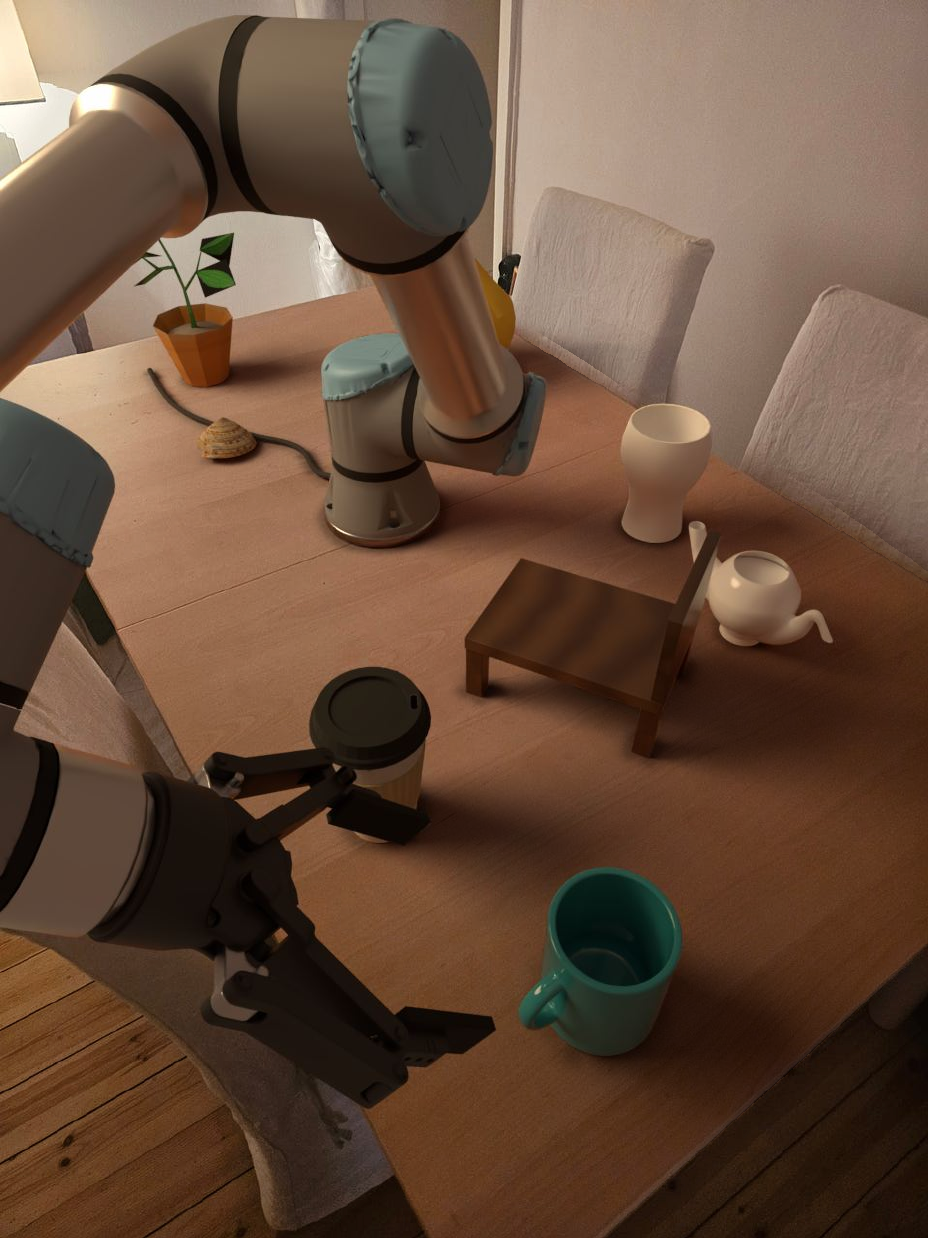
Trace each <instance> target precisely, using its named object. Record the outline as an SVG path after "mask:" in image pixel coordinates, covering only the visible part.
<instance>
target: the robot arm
mask: <svg viewBox="0 0 928 1238" xmlns="http://www.w3.org/2000/svg"><path fill="white" fill-rule="evenodd" d="M492 125H493V117H492V109H491V104H490V97H489V93H488V89H487V85H486V82H485V79H484V76H483V73H482V70H481V67H480V66H479V64H478V61H477V59H476V58H475V56H474V53H472V51H471V49H470V48H469V46H468V45H467V44H466V43H465V42H464V41H463V40H462V39H461V38H460V37H459V36H458V35H456V34H454V33H453V32H452V31H450V30H448V29H446V28H442V27H439V26H433V25H428V24H421V23H419V24H418V23H413V22H412V21H408V20H405V19H403V18H395V17H392V18H391V17H389V18H385V19H382V20H361V19H360V20H359V19H336V18H335V19H334V18H307V17H286V16H285V17H283V16H282V17H281V16H263V15H257V14H249V15H248V14H234V15H229V16H223V17H222V16H221V17H218V18H217V17H216V18H214V19H211V20H208V21H205V22H201V23H199V24H196V25H192V26H190V27H187V28H185V29H183V30H180V31H179V32H177V33H174V34H172V35H170V36H169V37H166V38H165V39H162V40H160V41H158V42H156V43H154V44H153V45H150V46H149V47H147V48H145V49H144V50H141V51H140V52H138V53H136V54H135V55H134V56H132V57H131V58H129V59H127V60H126V61H124V62H122V63H120V64H119V65H117V66H116V67H114V68H112V69H111V70H109V71H108V72H107V73H105V75H103V76H102V77H100V78H99V79H97V80H95V82H93V83H92V84H91V85H89V86H87V87H86V88H85V89H83V90H82V91H81V92H80V93H78V95H77V96H76V97H75V99H74V101H73V103H72V105H71V108H70V112H69V118H68V127H67V128H65V130H63V131H62V132H60V133H59V134H57V135H56V136H55V137H54V138H52V139H51V140H50V141H48V142H47V143H46V144H44V145H43V146H42V147H41V148H39V149H38V150H36V151H35V152H34V153H33V154H31V155H29V156H28V157H27V158H25V160H23V161H22V162H20V163H19V164H17V165H16V166H15V167H14V168H12V169H11V170H10V171H8V172H6V174H4V175H3V176H1V177H0V393H1V392H3V390H5V389H6V388H7V387H8V386H9V385H10V384H11V383H12V382H13V381H14V380H15V379H16V378H17V377H18V376H19V375H20V374H22V372H23V371H24V370H26V368H27V367H28V366H30V364H32V362H34V361H35V360H36V359H37V358H38V357H39V356H40V355H41V354H42V353H43V352H44V351H45V350H47V348H48V347H49V346H50V345H51V344H52V343H53V342H54V341H55V340H57V338H58V337H60V336H61V335H62V334H63V333H64V332H65V331H66V330H67V329H68V328H69V327H70V326H71V325H72V324H73V323H74V322H75V321H76V320H77V319H78V318H79V317H80V316H82V314H83V313H85V312H86V310H88V309H89V308H90V307H91V306H92V305H93V304H94V303H96V301H97V300H98V299H99V298H100V297H101V296H103V294H104V293H105V292H107V290H108V289H110V288H111V286H113V284H115V283H116V282H117V281H118V280H119V279H120V278H121V277H122V276H123V275H124V274H125V273H126V272H127V271H128V270H130V269H131V267H133V266H134V265H135V264H136V263H137V262H136V261H137V260H138V259H139V258H140V257H142V256H143V255H144V254H145V253H146V252H149V250H150V249H151V248H152V247H153V246H154V245H155V244H156V243H157V242H159V241H158V240H159V239H160V240H161V239H178V238H183V237H185V236H187V235H190V233H192V232H194V231H195V230H196V229H197V228H198V227H199V226H200V225H201V224H202V223H203V222H204V221H205V220H206V219H208V218H210V217H213V216H216V215H220V214H229V213H236V212H253V213H262V214H267V215H272V216H273V215H274V216H281V217H293V218H301V219H308V220H309V219H310V220H314V221H316V222H319V223H320V224H321V225H322V227H323V229H324V232H325V234H326V235H327V237H328V239H329V241H330V243H331V245H332V246H333V249H334V250H335V251H336V253H337V254H338V256H339V257H340V258H341V259H342V261H344V262H345V263H346V264H348V265H349V266H350V267H352V268H354V270H356V271H359V272H361V273H363V274H366V275H369V277H370V278H371V280H372V282H373V284H374V286H375V288H376V291H377V293H378V295H379V296H380V299H381V301H382V302H383V305H384V307H385V310H386V311H387V312H388V316H389V317H390V319H391V321H392V323H393V325H394V327H395V329H396V332H397V333H393V332H391V333H390V332H387V333H386V332H385V333H384V332H383V333H373V334H367V335H363V336H360V337H356V338H353V339H350V340H348V341H345V342H343V343H341V344H339V345H337V346H336V347H334V348H333V349H331V351H330V352H328V353H327V355H326V356H325V357H324V359H323V361H322V363H321V368H320V369H321V370H320V374H321V375H320V376H321V395H320V396H321V398H322V401H323V407H324V412H325V413H324V414H325V421H326V429H327V436H328V441H329V449H330V455H331V463H332V467H331V471H330V472H326V471H322V470H321V469H319V468H318V467H317V465H316V464H315V462H314V460H313V459H312V457H311V455H310V453H309V452H308V451H307V450H306V449H305V448H304V447H303V446H301V445H300V444H298V443H296V442H293V441H291V440H287V439H285V438H280V437H275V436H270V435H264V434H260V433H255V432H251V431H249V432H250V433H251V434H252V435H253V436H254V438H255V440H259V441H264V442H269V443H273V444H279V445H282V446H287V447H289V448H292V449H294V450H296V451H297V452H299V453H300V454H301V455H302V456H303V457H304V459H305V461H306V463H307V464H308V467H309V468H310V470H311V471H312V472H313V473H314V474H315V475H317V476H318V477H320V478H322V479H323V478H324V479H329V481H328V485H327V489H326V493H325V498H324V507H323V509H324V510H323V511H324V517H325V518H324V519H325V523H326V525H327V527H328V528H329V530H330V532H332V533H333V534H334V535H335V536H336V537H338V538H339V539H341V540H343V541H345V542H346V543H347V542H348V543H350V544H353V545H356V546H361V547H368V548H389V547H395V546H396V547H397V546H400V545H405V544H407V543H412V542H414V541H415V540H418V539H420V538H421V537H423V536H425V535H426V534H428V533H429V532H430V531H431V530H432V529H433V528H434V527H435V526H436V524H437V522H438V521H439V519H440V514H441V502H440V501H441V500H440V496H439V492H438V489H437V488H436V486H435V484H434V481H433V478H432V476H431V473H430V470H429V468H428V466H427V463H426V462H429V463H434V464H439V465H445V466H450V467H456V468H460V469H466V470H472V471H475V472H476V471H477V472H482V473H488V474H492V476H496V477H498V476H507V477H513V478H514V477H520V476H522V475H523V474H524V473H525V472H526V471H527V469H528V467H529V466H530V463H531V460H532V457H533V454H534V451H535V448H536V444H537V441H538V438H539V433H540V429H541V424H542V420H543V415H544V411H545V404H546V398H547V390H548V388H547V386H548V385H547V381H546V379H545V378H544V377H542V376H541V375H536V374H535V373H534V372H528V373H525V372H523V370H522V368H521V366H520V364H519V362H518V360H517V359H516V357H515V356H514V355H513V353H512V352H511V351H510V350H509V349H508V350H507V349H506V348H504V347H503V346H501V345H500V344H499V342H498V339H497V335H496V332H495V328H494V325H493V321H492V318H491V314H490V311H489V307H488V304H487V300H486V297H485V293H484V290H483V286H482V283H481V279H480V276H479V272H478V269H477V265H476V262H475V258H476V257H475V255H474V252H473V248H472V245H471V244H472V243H471V241H470V238H469V233H468V234H467V231H468V232H469V229H470V227H471V226H472V225H473V224H474V223H475V221H476V220H477V218H478V217H479V216H480V215H481V212H482V210H483V208H484V205H485V202H486V200H487V196H488V193H489V190H490V189H489V188H490V183H491V178H492V171H493V162H494V161H493V159H494V142H493V140H492V138H491V134H490V131H491V128H492ZM474 257H475V258H474ZM135 262H136V263H135ZM134 263H135V264H134ZM133 264H134V265H133ZM146 371H147V373H148V375H149V377H150V379H151V380H152V384H153V385H154V386H155V388H156V390H157V391H158V392H159V394H160V395H161V397H163V399H164V400H165V401H166V402H167V403H168V404H169V405H170V406H171V407H172V408H174V409H175V410H176V411H177V412H179V413H181V414H182V415H184V416H185V417H187V418H190V419H191V420H193V421H195V422H198V423H200V424H203V425H206V426H207V427H209V426H210V425H211V424H213V423H214V422H215V421H212V420H210V419H208V418H207V419H206V418H204V417H202V416H199V415H197V414H194V413H193V412H190V411H189V410H187V409H186V408H184V407H182V406H180V405H179V404H178V403H176V402H175V401H174V400H173V399H172V398H171V397H170V396H169V395H168V393H167V392H166V391H165V390H164V388H163V386H162V385H161V384H160V382H159V380H158V378H157V375H156V374H155V372H154V370H153V369H152V368H151V367H148V368H147V370H146ZM108 463H109V462H107V460H106V459H105V458H104V457H103V456H102V455H101V453H100V452H98V451H97V450H96V449H95V448H94V447H93V446H92V445H91V444H90V443H88V441H86V440H85V439H84V438H82V437H80V435H78V434H77V433H75V432H73V431H71V430H70V429H68V428H67V427H65V426H63V425H62V424H60V423H58V422H57V421H55V420H53V419H52V418H49V417H47V416H46V415H43V414H41V413H39V412H37V411H35V410H33V409H31V408H28V407H27V406H24V405H21V404H19V403H17V402H13V401H12V400H8V399H5V398H2V397H0V928H3V929H10V930H11V929H12V930H17V931H26V932H31V933H39V934H47V935H52V936H60V937H67V938H68V937H69V938H80V937H82V936H84V935H87V936H88V937H89V938H90V939H91V940H92V941H93V942H96V943H101V944H107V945H115V946H121V947H127V948H128V947H129V948H135V949H143V950H149V951H157V952H159V951H160V952H163V951H164V952H165V951H166V952H167V951H177V950H193V951H195V952H198V953H200V954H202V955H204V956H205V957H206V958H207V959H209V960H211V961H212V962H214V965H213V972H214V973H213V992H212V993H211V994H210V995H209V996H207V997H206V998H205V999H204V1000H203V1001H202V1002H201V1005H200V1016H201V1017H202V1020H203V1021H204V1022H206V1024H208V1025H210V1026H213V1027H218V1028H223V1029H227V1030H232V1031H237V1032H242V1033H245V1034H247V1036H250V1037H252V1038H253V1039H254V1040H256V1041H258V1042H260V1043H261V1044H263V1045H264V1046H265V1047H267V1048H269V1049H271V1051H274V1052H276V1054H278V1055H280V1056H281V1057H283V1058H285V1059H286V1060H288V1061H289V1062H292V1063H293V1064H294V1065H296V1066H297V1067H299V1068H300V1069H302V1070H304V1071H305V1072H307V1073H308V1074H310V1075H312V1076H313V1077H315V1078H316V1079H318V1080H319V1081H321V1082H322V1083H324V1084H326V1085H327V1086H329V1087H331V1088H332V1089H334V1090H335V1091H337V1092H338V1093H340V1094H342V1095H343V1096H345V1097H346V1098H348V1099H349V1100H350V1101H353V1102H354V1103H356V1104H357V1105H359V1106H361V1107H362V1108H364V1109H366V1110H370V1109H373V1108H374V1107H375V1106H377V1105H378V1104H380V1103H381V1102H383V1101H384V1100H386V1099H387V1098H388V1097H389V1096H391V1095H392V1094H394V1093H395V1092H396V1091H397V1090H399V1089H400V1088H402V1087H403V1086H404V1085H405V1084H406V1083H408V1081H409V1078H410V1077H409V1075H410V1074H409V1069H408V1067H410V1068H411V1067H413V1068H428V1067H429V1066H431V1065H432V1064H434V1063H435V1062H436V1061H439V1059H440V1058H442V1057H443V1056H445V1055H446V1054H451V1055H453V1054H454V1055H464V1054H466V1053H467V1052H468V1051H470V1050H471V1049H472V1048H474V1047H475V1046H477V1045H478V1044H479V1043H480V1042H483V1041H484V1040H485V1039H486V1038H487V1037H489V1036H491V1035H492V1034H493V1033H494V1032H496V1031H497V1028H496V1025H495V1022H494V1019H493V1016H492V1015H485V1014H475V1013H469V1012H467V1013H466V1012H459V1011H451V1010H450V1011H449V1010H444V1009H443V1010H441V1009H434V1008H426V1007H425V1008H424V1007H418V1006H408V1005H405V1006H404V1007H402V1008H401V1009H399V1010H398V1011H397V1012H396V1013H395V1014H394V1013H393V1012H392V1011H391V1010H390V1009H389V1008H388V1007H387V1006H386V1005H385V1004H384V1002H382V1001H381V1000H380V999H379V998H378V997H377V996H376V995H375V994H374V993H373V992H372V991H371V990H370V989H369V988H368V987H367V986H366V985H365V984H364V983H363V982H362V981H361V980H360V979H359V978H358V977H357V976H356V975H355V974H354V973H353V972H352V971H351V970H350V969H348V967H347V966H346V965H345V964H344V963H343V962H342V961H341V960H340V959H339V958H337V956H336V955H335V954H334V953H333V952H332V951H331V950H330V949H329V948H327V946H326V945H325V944H324V943H323V942H322V941H321V940H320V939H318V938H317V936H316V925H315V923H314V922H313V921H312V920H311V919H310V918H309V917H308V916H307V915H306V914H305V912H303V910H301V909H300V908H299V907H298V905H299V903H300V902H299V897H298V891H297V888H296V886H295V883H294V880H293V877H292V873H293V872H292V870H293V860H292V854H291V853H292V852H291V851H290V850H286V848H285V846H284V845H283V843H282V842H281V841H282V840H284V839H285V838H287V837H288V836H289V835H291V834H292V833H294V832H295V831H296V830H298V829H299V828H301V827H302V826H304V825H305V824H306V823H308V822H309V821H311V820H312V819H314V818H316V816H318V815H319V814H321V813H322V812H324V811H325V810H326V809H327V808H328V809H330V810H328V812H326V814H325V816H326V821H327V824H328V825H330V826H334V827H336V828H340V829H344V830H348V831H351V832H354V833H355V832H357V833H361V834H364V835H368V836H371V837H375V838H378V839H382V840H385V841H389V842H388V843H393V844H396V845H399V846H403V847H406V846H407V845H408V844H409V843H410V842H411V841H413V839H415V838H416V837H417V836H418V835H419V834H420V833H422V832H423V831H424V830H425V829H426V828H427V827H428V826H429V825H431V824H432V821H431V817H430V814H429V812H425V811H422V810H419V809H417V808H416V809H413V808H410V807H407V806H404V805H401V804H398V803H395V802H392V801H389V800H386V799H383V798H382V797H381V795H380V794H378V793H377V792H376V791H374V790H371V789H367V788H365V787H362V786H359V785H356V784H353V782H354V781H356V779H357V775H356V772H355V771H354V770H353V769H352V768H351V767H350V766H348V765H343V766H342V767H341V768H340V769H339V770H338V771H337V772H336V771H335V769H334V767H333V765H332V764H333V763H334V762H335V761H336V757H335V755H334V753H333V752H332V751H331V750H330V749H328V748H325V747H322V748H315V747H314V748H308V749H301V750H291V751H286V752H278V753H270V754H261V755H255V756H254V755H253V756H248V757H246V756H245V757H244V756H240V755H235V754H232V753H228V752H222V751H215V752H213V753H212V754H211V755H210V756H208V758H207V759H206V760H205V761H204V762H203V763H202V764H201V765H200V766H199V768H198V769H197V770H196V771H194V773H193V774H192V775H190V777H189V778H188V779H187V780H184V779H180V778H177V777H174V776H171V775H170V776H169V775H167V774H164V773H160V772H156V771H145V772H143V773H141V771H140V769H139V768H138V766H137V765H133V764H130V763H126V762H123V761H119V760H115V759H113V758H108V757H105V756H101V755H98V754H94V753H90V752H88V751H87V752H86V751H83V750H80V749H76V748H73V747H69V746H67V745H66V746H65V745H62V744H58V743H55V742H52V741H48V740H45V739H41V738H38V737H35V736H27V735H25V734H23V733H20V732H19V731H16V730H15V727H16V724H17V721H18V719H19V717H20V716H21V713H22V710H23V708H24V706H25V703H26V701H27V699H28V697H29V695H30V693H31V691H32V689H33V687H34V684H35V682H36V680H37V679H38V676H39V674H40V671H41V669H42V667H43V665H44V662H45V661H46V659H47V656H48V654H49V652H50V650H51V648H52V646H53V643H54V641H55V639H56V637H57V634H58V633H59V629H60V628H61V626H62V623H63V622H64V619H65V617H66V615H67V613H68V610H69V608H70V606H71V603H72V601H73V600H74V597H75V595H76V593H77V591H78V589H79V587H80V584H81V582H82V580H83V578H84V577H85V576H84V575H85V574H86V570H87V569H88V568H89V569H90V568H91V567H92V563H93V560H94V555H93V551H94V549H95V545H96V544H97V540H98V538H99V535H100V532H101V530H102V527H103V525H104V522H105V519H106V517H107V513H108V510H109V509H110V505H111V503H112V500H113V498H114V496H115V492H116V480H115V475H114V473H113V471H112V469H111V466H110V465H109V464H108ZM305 787H309V789H307V790H306V791H304V792H302V793H301V794H299V795H298V796H296V797H294V798H293V799H290V800H289V801H288V802H286V803H284V804H283V803H282V804H280V805H278V806H277V807H275V808H274V809H272V810H270V811H269V812H267V813H266V814H264V815H262V816H261V817H257V818H255V817H254V815H252V814H251V813H250V812H249V811H248V810H246V808H244V807H243V806H242V805H241V803H239V802H238V800H241V799H248V798H254V797H257V796H264V795H268V794H273V793H279V792H284V791H289V790H295V789H299V788H305ZM280 929H282V931H283V932H285V934H286V937H285V938H283V939H282V940H281V941H280V942H279V943H278V944H276V945H275V946H271V945H269V944H268V943H267V942H266V940H267V939H269V938H271V937H272V936H273V935H274V934H276V933H277V932H278V931H279V930H280Z"/></svg>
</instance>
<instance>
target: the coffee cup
mask: <svg viewBox="0 0 928 1238" xmlns="http://www.w3.org/2000/svg"><path fill="white" fill-rule="evenodd" d="M431 726H432V714H431V709H430V705H429V703H428V700H427V698H426V697H425V695H424V694H423V692H422V691H421V690H420V689H419V687H417V685H416V684H415V683H414V682H413V680H412V679H410V677H409V676H406V675H405V674H403V673H401V672H400V671H398V670H395V669H391V668H389V667H382V666H363V667H362V666H361V667H357V668H353V669H350V670H347V671H344V672H343V673H340V674H338V675H337V676H335V677H334V678H332V679H331V680H330V681H328V683H326V685H324V686H323V688H321V690H320V692H319V693H318V696H317V698H316V700H315V702H314V704H313V706H312V708H311V711H310V716H309V721H308V731H309V737H310V740H311V743H312V745H313V746H314V748H322V747H325V748H328V749H330V750H331V751H332V752H333V753H334V755H335V757H336V761H335V762H334V763H333V764H332V765H333V767H334V769H335V771H336V772H337V771H338V770H339V769H340V768H341V767H342V766H343V765H348V766H350V767H351V768H352V769H353V770H354V771H355V772H356V775H357V779H356V781H354V782H353V784H356V785H359V786H362V787H365V788H367V789H371V790H374V791H376V792H377V793H378V794H380V795H381V797H382V798H383V799H386V800H389V801H392V802H395V803H398V804H401V805H404V806H407V807H410V808H413V809H416V810H417V808H418V807H417V806H418V801H419V797H420V794H421V785H422V780H423V779H422V778H423V770H424V761H425V753H426V752H425V751H426V743H427V741H426V740H427V737H428V735H429V731H430V729H431ZM354 833H355V835H356V836H358V838H360V839H361V840H364V841H367V842H369V843H374V844H384V843H390V842H389V841H385V840H382V839H378V838H375V837H371V836H368V835H364V834H361V833H357V832H354Z"/></svg>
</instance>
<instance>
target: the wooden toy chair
mask: <svg viewBox="0 0 928 1238" xmlns="http://www.w3.org/2000/svg"><path fill="white" fill-rule="evenodd" d="M722 535H723V532H722V531H719V530H716V529H712V528H709V529H708V532H707V536H706V538H705V540H704V542H703V545H702V547H701V549H700V551H699V553H698V556H697V558H696V560H695V562H693V564H692V566H691V569H690V570H689V573H688V576H687V578H686V580H685V582H684V584H683V585H682V588H681V591H680V593H679V595H678V597H677V600H676V602H675V603H674V602H672V601H671V602H670V601H667V600H664V599H662V598H661V599H660V598H658V597H654V596H650V595H647V594H643V593H641V592H636V591H634V590H630V589H627V588H625V587H624V588H623V587H620V586H618V585H613V584H611V583H606V582H603V581H600V580H596V579H593V578H590V577H587V576H583V575H579V574H576V573H573V572H570V571H567V570H562V569H559V568H556V567H552V566H549V565H546V564H543V563H539V562H536V561H532V560H530V559H526V558H522V557H521V558H519V560H518V561H517V563H516V564H515V566H514V567H513V568H512V570H511V571H510V573H509V575H508V576H507V577H506V578H505V580H504V581H503V583H502V584H501V585H500V587H499V588H498V590H496V592H495V594H494V595H493V597H492V598H491V600H490V601H489V602H488V604H487V606H486V607H484V609H483V611H482V613H480V615H479V616H478V618H477V619H476V620H475V622H474V624H473V625H472V626H471V627H470V629H469V630H468V632H467V633H466V634H465V636H464V649H465V692H466V693H467V694H470V695H474V696H476V697H479V698H482V697H483V695H484V694H485V692H486V690H487V689H488V688H489V682H490V681H489V679H490V676H489V675H490V673H489V672H490V658H492V659H494V660H498V661H501V662H504V663H506V664H509V665H513V666H516V667H518V668H522V669H524V670H528V671H529V672H533V673H535V674H538V675H542V676H544V677H546V678H547V677H548V678H550V679H553V680H556V681H559V682H562V683H565V684H568V685H570V686H574V687H575V688H579V689H582V690H585V691H587V692H590V693H593V694H595V695H598V696H603V697H605V698H608V699H611V700H614V701H616V702H620V703H622V704H626V705H629V706H631V707H635V708H637V709H639V714H638V717H637V718H638V719H637V723H636V728H635V732H634V737H633V742H632V746H631V752H630V753H633V754H635V755H638V756H642V757H643V758H647V759H650V757H651V755H652V753H653V750H654V747H655V744H656V740H657V737H658V731H659V729H660V728H659V727H660V724H661V719H662V716H663V713H664V707H665V705H666V704H667V701H668V698H669V696H670V694H671V691H672V688H673V686H674V683H675V682H676V679H677V676H678V677H681V678H682V677H684V674H685V672H686V669H687V666H688V662H689V658H690V655H691V651H692V647H693V643H694V639H695V636H696V631H697V628H698V626H699V623H700V621H701V616H702V612H703V608H704V605H705V601H706V594H707V590H708V586H709V582H710V578H711V574H712V570H713V567H714V563H715V559H716V556H717V554H718V552H719V547H720V543H721V539H722Z"/></svg>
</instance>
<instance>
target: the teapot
mask: <svg viewBox="0 0 928 1238" xmlns="http://www.w3.org/2000/svg"><path fill="white" fill-rule="evenodd" d="M688 534H689V540H690V548H691V555H692V560H693V563H694V562H695V560H696V558H697V556H698V553H699V551H700V549H701V547H702V545H703V542H704V540H705V538H706V536H707V534H708V532H707V528H706V525H705V524H704V523H703V522H701V521H699V520H693V521H691V522H689V524H688ZM705 599H706V600H707V601H708V604H709V608H710V611H711V613H712V615H713V617H714V618H715V619H716V620H717V622H718V623H719V626H718V627H719V633H720V635H721V636H722V637H723V638H724V640H726V641H727V642H729V643H731V644H733V645H737V646H740V647H752V646H755V645H757V644H759V643H761V644H764V645H770V646H782V645H787V644H791V643H793V642H796V641H798V640H801V639H802V638H804V637H805V636H806V635H807V634H808V633H809V632H810V631H811V629H812V627H813V625H814V624H816V625H817V627H818V630H819V634H820V637H821V640H822V641H824V642H826V643H829V644H832V643H833V642H834V639H833V637H832V635H831V632H830V631H829V627H828V625H827V622H826V620H825V618H824V615H823V613H822V612H821V611H820V610H817V609H809V610H806V611H805V612H803V613H801V614H799V615H797V614H796V613H797V612H798V609H799V607H800V604H801V600H802V589H801V586H800V584H799V582H798V579H797V577H796V574H795V573H794V571H793V569H792V568H791V566H790V565H789V564H788V563H787V562H786V561H785V560H783V558H781V557H780V556H778V555H775V554H773V553H770V552H767V551H761V550H744V551H741V552H738V553H735V554H733V555H732V556H730V557H729V558H727V559H725V561H723V562H722V561H721V560H720V558H718V556H717V555H716V559H715V563H714V567H713V570H712V574H711V578H710V582H709V586H708V590H707V594H706V597H705Z"/></svg>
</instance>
